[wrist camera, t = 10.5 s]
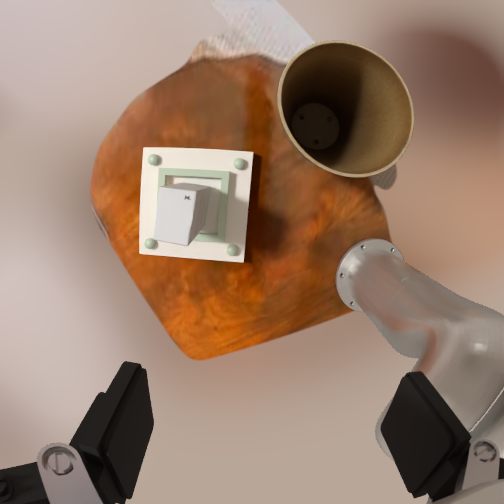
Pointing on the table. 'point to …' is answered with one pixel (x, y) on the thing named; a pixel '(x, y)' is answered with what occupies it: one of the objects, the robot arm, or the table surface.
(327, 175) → the table surface
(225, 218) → the baseplate
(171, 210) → the skincare box
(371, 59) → the plant pot
